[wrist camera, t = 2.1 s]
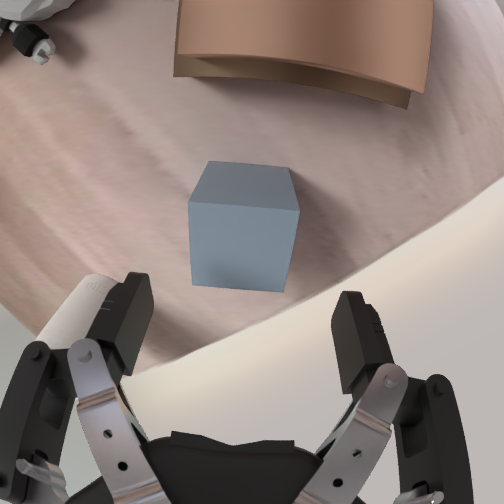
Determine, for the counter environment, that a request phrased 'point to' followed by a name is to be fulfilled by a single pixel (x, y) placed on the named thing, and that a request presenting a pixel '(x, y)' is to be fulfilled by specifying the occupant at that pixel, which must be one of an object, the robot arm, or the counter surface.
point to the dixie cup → (76, 312)
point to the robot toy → (30, 25)
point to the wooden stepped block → (310, 43)
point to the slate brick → (242, 226)
